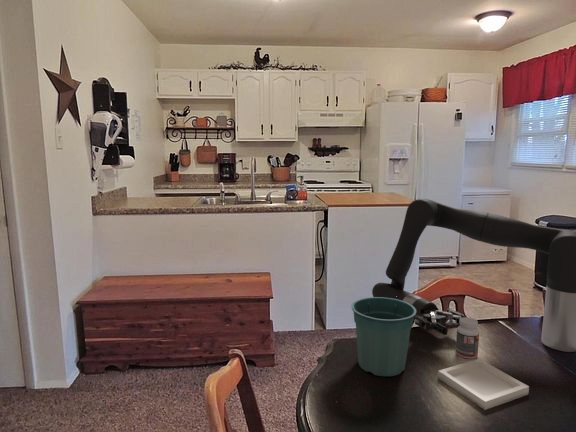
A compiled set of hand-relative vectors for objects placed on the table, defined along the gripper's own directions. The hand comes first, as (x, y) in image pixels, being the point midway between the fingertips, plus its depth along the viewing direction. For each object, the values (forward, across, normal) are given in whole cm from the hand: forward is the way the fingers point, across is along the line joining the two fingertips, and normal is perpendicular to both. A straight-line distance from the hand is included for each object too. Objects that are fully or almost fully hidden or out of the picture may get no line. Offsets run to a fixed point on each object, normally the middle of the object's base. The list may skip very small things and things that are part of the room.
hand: (458, 329), depth 117 cm
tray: (+16, -9, +6) cm, 20 cm away
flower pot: (-2, -25, +6) cm, 26 cm away
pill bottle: (+4, 0, +6) cm, 7 cm away
